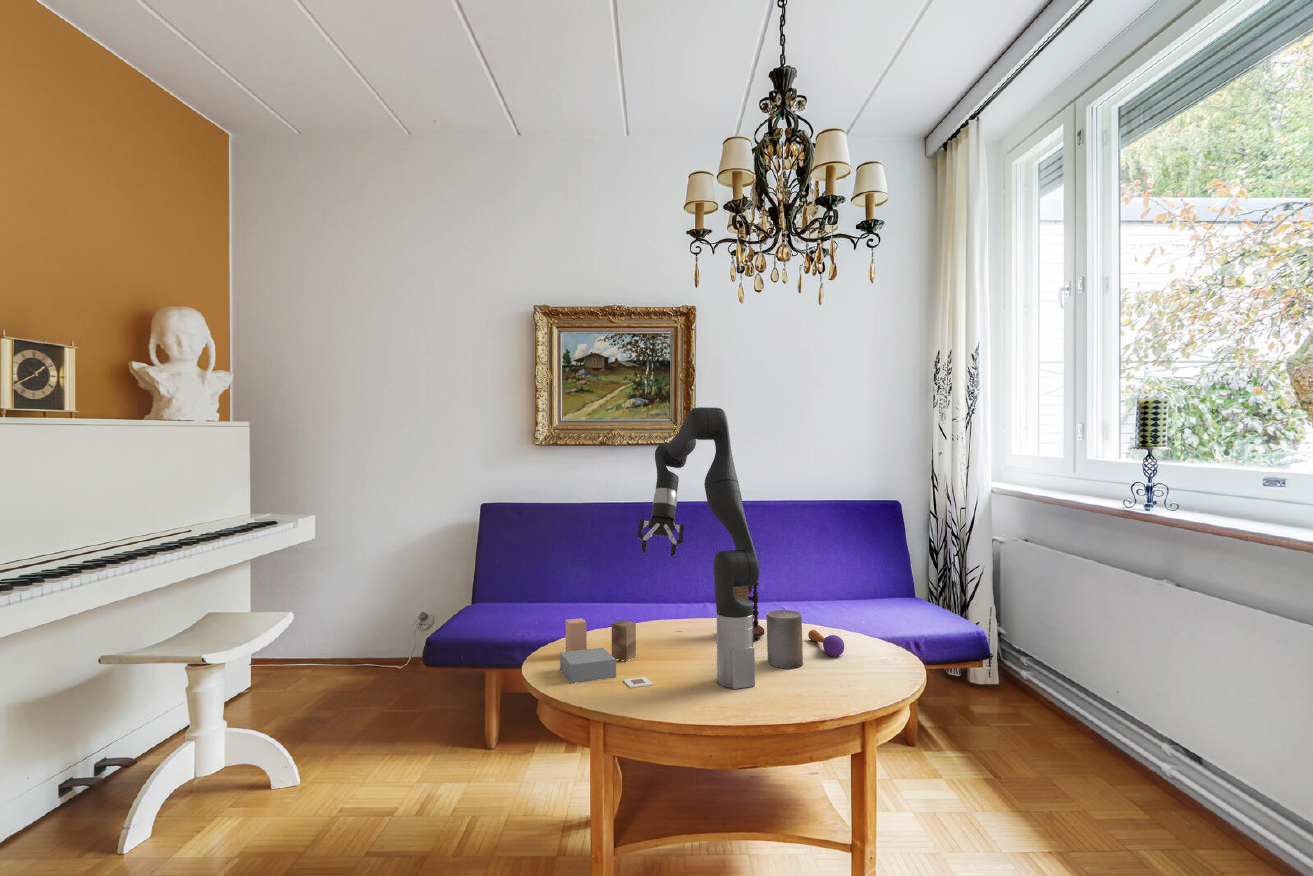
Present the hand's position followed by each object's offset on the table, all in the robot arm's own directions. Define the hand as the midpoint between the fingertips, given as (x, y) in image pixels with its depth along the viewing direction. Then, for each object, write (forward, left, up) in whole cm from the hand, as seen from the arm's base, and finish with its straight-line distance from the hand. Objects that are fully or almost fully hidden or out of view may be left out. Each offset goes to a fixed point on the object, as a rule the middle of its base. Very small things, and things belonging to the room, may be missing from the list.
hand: (658, 555), depth 201 cm
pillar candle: (-32, -25, -27) cm, 49 cm away
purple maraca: (-24, -44, -28) cm, 57 cm away
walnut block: (-11, +15, -27) cm, 33 cm away
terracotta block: (-3, +27, -27) cm, 38 cm away
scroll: (-3, -27, -27) cm, 39 cm away
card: (-32, +18, -27) cm, 45 cm away
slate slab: (-20, +28, -28) cm, 44 cm away
